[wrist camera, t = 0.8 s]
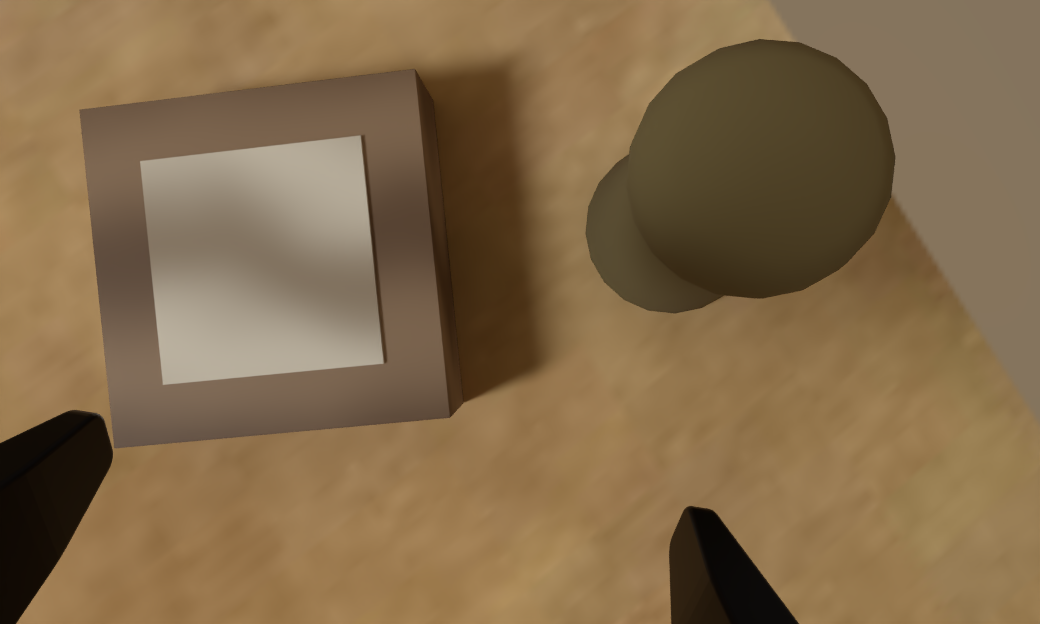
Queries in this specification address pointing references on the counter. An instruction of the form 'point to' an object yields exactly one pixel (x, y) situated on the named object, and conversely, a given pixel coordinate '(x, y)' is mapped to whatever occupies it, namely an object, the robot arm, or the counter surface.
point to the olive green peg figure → (743, 180)
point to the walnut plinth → (272, 260)
